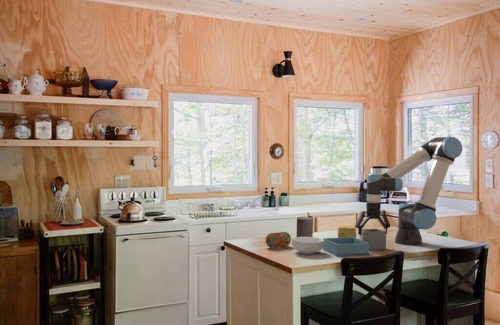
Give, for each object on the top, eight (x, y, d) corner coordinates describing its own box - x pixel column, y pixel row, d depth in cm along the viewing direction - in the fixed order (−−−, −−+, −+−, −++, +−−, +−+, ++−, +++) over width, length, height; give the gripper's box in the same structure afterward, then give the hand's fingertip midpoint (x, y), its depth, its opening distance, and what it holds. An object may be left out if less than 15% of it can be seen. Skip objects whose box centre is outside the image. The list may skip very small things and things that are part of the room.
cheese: (356, 246, 273) (356, 228, 273) (337, 245, 275) (337, 227, 275) (356, 242, 283) (356, 225, 283) (337, 241, 286) (337, 224, 285)
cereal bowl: (301, 257, 243) (301, 243, 243) (286, 250, 258) (286, 237, 258) (330, 254, 250) (330, 240, 250) (313, 248, 265) (313, 235, 265)
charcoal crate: (376, 246, 272) (376, 228, 272) (385, 250, 262) (386, 231, 262) (360, 247, 269) (360, 229, 269) (369, 250, 260) (369, 232, 259)
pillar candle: (293, 241, 286) (293, 215, 286) (302, 238, 294) (302, 214, 293) (306, 243, 280) (307, 217, 279) (315, 240, 288) (316, 215, 287)
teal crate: (353, 247, 267) (353, 237, 267) (368, 254, 250) (368, 243, 250) (322, 249, 263) (322, 238, 263) (336, 256, 245) (336, 244, 245)
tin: (267, 248, 263) (267, 233, 263) (264, 247, 266) (264, 232, 266) (291, 246, 270) (291, 231, 270) (288, 245, 273) (288, 230, 273)
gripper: (390, 201, 272) (389, 238, 272) (349, 201, 266) (348, 239, 266) (397, 202, 265) (396, 241, 265) (355, 202, 258) (354, 242, 259)
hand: (372, 240), depth 266 cm, fingers open, 13 cm apart
